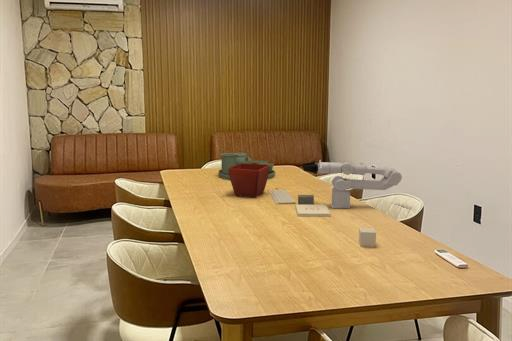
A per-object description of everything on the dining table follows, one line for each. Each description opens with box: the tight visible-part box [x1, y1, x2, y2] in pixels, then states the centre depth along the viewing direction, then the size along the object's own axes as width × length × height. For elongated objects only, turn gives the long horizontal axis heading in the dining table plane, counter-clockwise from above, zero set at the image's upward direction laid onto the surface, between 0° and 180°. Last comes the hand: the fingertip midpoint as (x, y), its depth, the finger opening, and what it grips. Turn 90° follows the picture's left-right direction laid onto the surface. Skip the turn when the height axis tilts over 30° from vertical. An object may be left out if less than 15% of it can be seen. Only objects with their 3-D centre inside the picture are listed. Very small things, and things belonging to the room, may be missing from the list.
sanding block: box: [297, 194, 315, 205], centre depth 263 cm, size 8×5×5 cm, turn 90°
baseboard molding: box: [266, 187, 297, 205], centre depth 279 cm, size 31×3×12 cm
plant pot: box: [228, 163, 270, 198], centre depth 285 cm, size 19×19×17 cm
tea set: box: [217, 151, 276, 181], centre depth 343 cm, size 40×40×16 cm
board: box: [294, 204, 332, 218], centre depth 249 cm, size 16×18×2 cm
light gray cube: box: [358, 227, 377, 248], centre depth 199 cm, size 6×6×6 cm
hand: (302, 167), depth 256 cm, fingers open, 7 cm apart
